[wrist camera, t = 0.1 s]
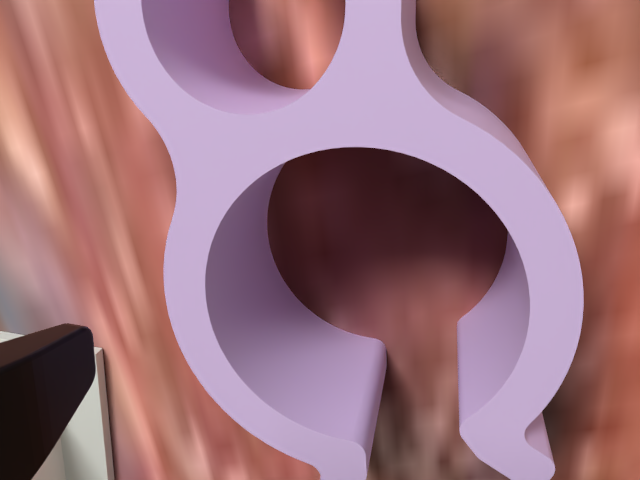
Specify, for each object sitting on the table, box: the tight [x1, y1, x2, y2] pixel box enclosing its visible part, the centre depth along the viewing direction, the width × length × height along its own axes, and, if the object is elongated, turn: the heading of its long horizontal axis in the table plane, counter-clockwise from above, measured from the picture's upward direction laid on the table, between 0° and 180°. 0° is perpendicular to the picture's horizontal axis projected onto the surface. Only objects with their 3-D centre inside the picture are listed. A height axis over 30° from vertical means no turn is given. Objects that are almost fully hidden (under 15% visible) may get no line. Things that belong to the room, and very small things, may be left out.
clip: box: [94, 0, 584, 480], centre depth 20 cm, size 20×12×7 cm, turn 21°
